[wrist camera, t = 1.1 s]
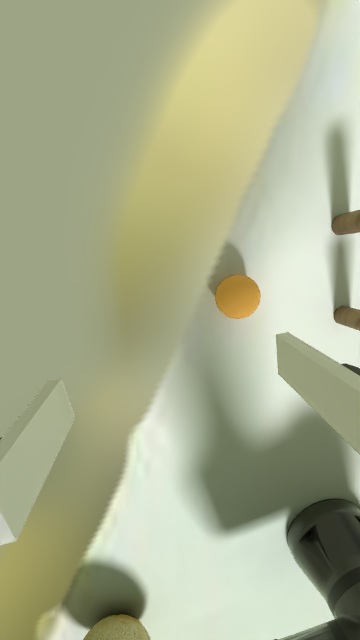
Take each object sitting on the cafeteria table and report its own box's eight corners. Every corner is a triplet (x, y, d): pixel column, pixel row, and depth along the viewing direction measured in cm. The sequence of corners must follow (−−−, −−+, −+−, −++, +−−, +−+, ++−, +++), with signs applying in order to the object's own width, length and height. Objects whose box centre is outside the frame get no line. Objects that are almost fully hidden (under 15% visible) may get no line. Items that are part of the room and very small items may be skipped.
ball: (252, 309, 34) (270, 318, 28) (214, 317, 33) (225, 327, 28) (248, 270, 32) (265, 271, 27) (208, 278, 32) (218, 281, 27)
